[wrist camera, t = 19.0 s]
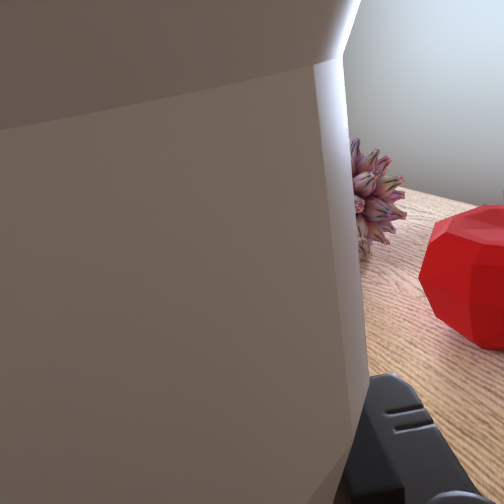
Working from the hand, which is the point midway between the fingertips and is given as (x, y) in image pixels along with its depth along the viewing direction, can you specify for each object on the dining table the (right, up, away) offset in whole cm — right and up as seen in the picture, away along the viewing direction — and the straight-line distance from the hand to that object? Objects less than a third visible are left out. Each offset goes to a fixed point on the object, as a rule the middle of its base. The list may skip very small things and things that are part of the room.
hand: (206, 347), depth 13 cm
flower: (+11, +2, +34) cm, 36 cm away
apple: (+19, -3, +19) cm, 27 cm away
